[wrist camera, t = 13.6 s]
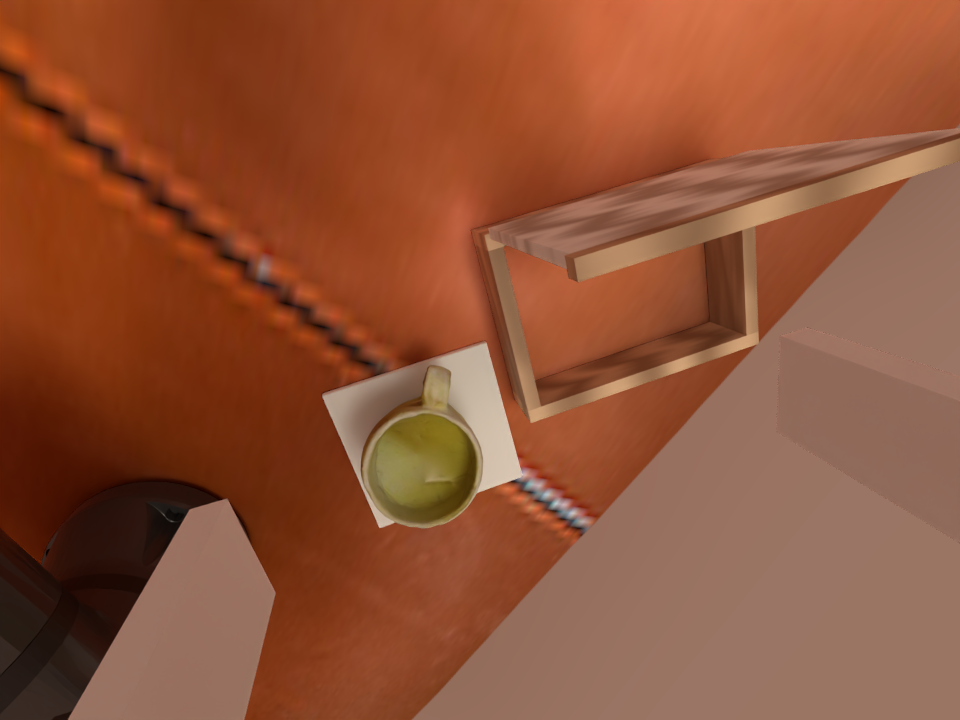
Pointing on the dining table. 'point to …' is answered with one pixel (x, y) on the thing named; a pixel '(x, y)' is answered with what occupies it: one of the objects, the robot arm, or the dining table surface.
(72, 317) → the dining table surface
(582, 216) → the open wooden box
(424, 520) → the mug
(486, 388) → the mat
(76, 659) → the robot arm
